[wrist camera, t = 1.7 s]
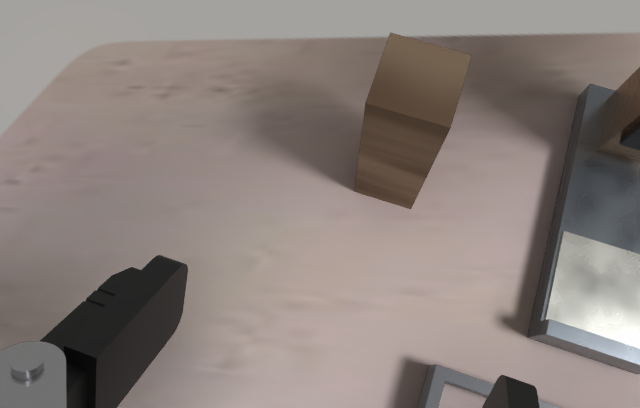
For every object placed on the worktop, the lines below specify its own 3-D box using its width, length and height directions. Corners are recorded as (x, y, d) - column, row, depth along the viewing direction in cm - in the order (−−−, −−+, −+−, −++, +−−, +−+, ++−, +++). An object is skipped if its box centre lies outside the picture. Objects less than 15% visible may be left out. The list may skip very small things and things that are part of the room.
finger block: (373, 133, 33) (393, 23, 23) (428, 150, 33) (474, 45, 22) (354, 191, 32) (365, 102, 22) (410, 209, 32) (450, 127, 21)
